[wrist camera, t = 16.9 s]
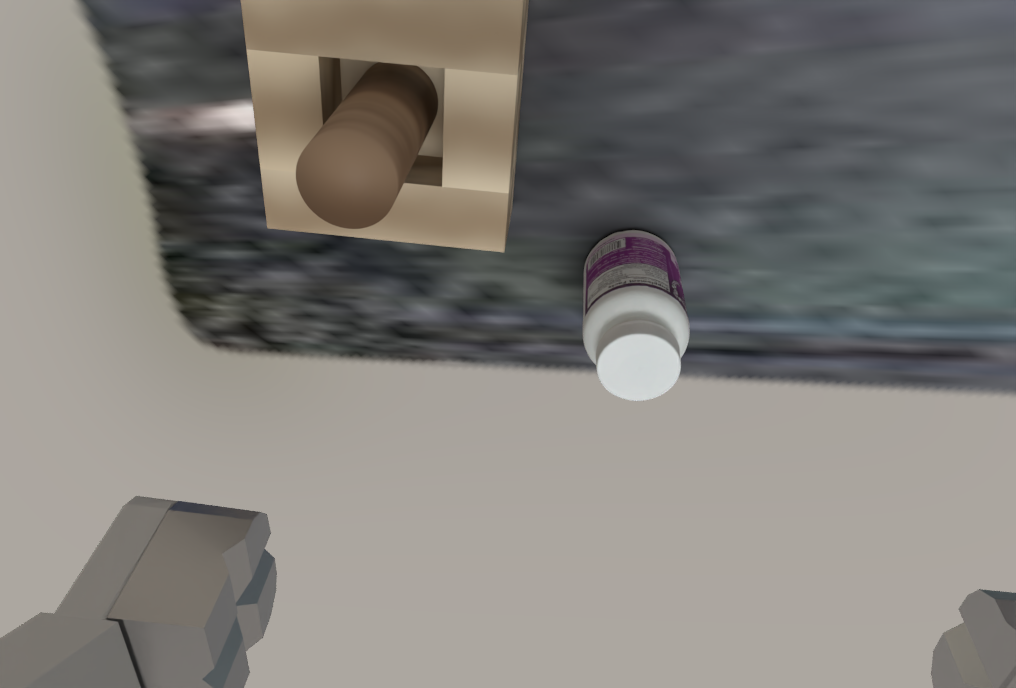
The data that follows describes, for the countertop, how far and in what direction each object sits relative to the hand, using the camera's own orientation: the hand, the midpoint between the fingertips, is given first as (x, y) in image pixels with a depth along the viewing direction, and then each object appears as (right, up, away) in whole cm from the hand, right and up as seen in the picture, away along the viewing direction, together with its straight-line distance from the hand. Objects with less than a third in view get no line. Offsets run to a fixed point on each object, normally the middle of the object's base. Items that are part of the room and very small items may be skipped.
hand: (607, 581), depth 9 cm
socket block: (-6, +16, +31) cm, 36 cm away
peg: (-7, +15, +30) cm, 34 cm away
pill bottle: (+6, +7, +37) cm, 38 cm away
